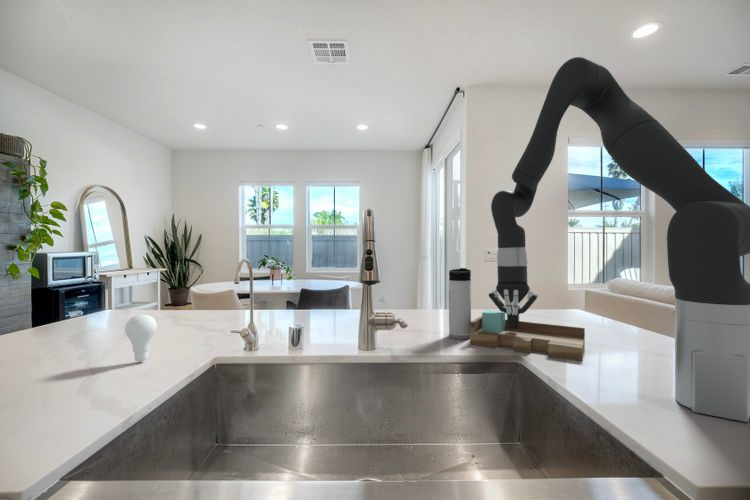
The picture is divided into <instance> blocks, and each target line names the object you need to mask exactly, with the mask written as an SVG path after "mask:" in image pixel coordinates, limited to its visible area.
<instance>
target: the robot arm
mask: <svg viewBox="0 0 750 500" xmlns="http://www.w3.org/2000/svg"><path fill="white" fill-rule="evenodd" d="M570 106H572V107H575V108H578V109H579V110H581V111H583V112H584V113H585V114H586V115H588V116H589V118H590V119H591V120H593V121H594V122H595V123H596V124H597V126H598V128H599V130H600V136H601V141H602V143H603V147H604V149H605V150H606V153H608V155H609V156H610V157H611V158H612V160H613V161H614V162H615V163H616V164H617V166H618V167H619V168H620V169H621V170H622V172H624V173H625V174H626V175H627V176H629V177H630V178H631V179H633V181H635V182H637V183H638V184H640V185H641V186H643V187H644V188H646V189H648V190H649V191H651V192H653V193H654V194H655V195H657V196H659V197H660V198H662V199H663V200H664V201H665V202H666V203H667V204H669V205H670V206H671V208H672V209H673V210H674V211H675V213H674V214H673V215H672V216H671V219H670V220H669V223H668V227H667V234H666V249H667V268H668V276H669V280H670V283H671V284H672V286H673V289H674V311H675V312H674V398H675V400H676V402H678V403H679V404H681V406H685V407H687V408H688V409H690V410H691V411H692V412H693V413H699V414H703V415H707V416H714V417H718V418H723V419H729V420H735V421H738V422H745V423H749V422H750V420H749V419H750V282H748V281H747V280H746V279H745V278H744V275H743V273H742V269H741V268H742V267H741V257H744V256H746V255H749V254H750V205H748V204H747V203H745V201H743V200H741V198H739V197H738V196H737V195H735V194H733V193H732V192H731V191H730V190H728V189H727V188H726V187H724V186H723V185H722V184H721V183H719V182H718V181H716V180H715V179H714V178H713V177H712V176H711V175H710V174H709V173H708V172H707V171H706V170H705V169H704V168H703V167H702V165H700V163H699V162H698V161H697V160H696V159H695V158H694V157H693V156H692V154H691V153H690V152H688V150H687V149H686V148H684V147H683V145H682V144H681V143H679V141H677V140H676V138H675V137H674V136H673V135H672V134H671V133H670V132H669V131H668V130H667V129H666V128H665V126H663V125H662V124H661V123H660V121H658V120H657V119H656V118H655V117H653V116H652V115H651V114H650V113H649V112H648V111H647V110H645V108H643V107H642V106H641V105H639V104H638V103H637V102H635V101H633V100H632V99H631V98H630V97H629V96H628V95H627V94H626V93H625V91H624V90H623V88H622V87H621V86H620V84H619V83H618V82H617V80H616V79H615V77H614V76H613V74H612V73H611V72H610V71H609V70H608V69H607V68H606V67H605V66H603V65H602V64H599V63H597V62H595V61H593V60H590V59H588V58H586V57H583V56H575V57H572V58H570V59H568V60H566V61H565V62H564V63H563V64H562V65H561V66H560V67H559V69H558V70H557V71H556V73H555V75H554V77H553V79H552V81H551V83H550V86H549V87H548V91H547V94H546V97H545V99H544V101H543V104H542V107H541V110H540V112H539V115H538V118H537V121H536V124H535V126H534V130H533V132H532V135H531V137H530V139H529V141H528V143H527V146H526V148H525V149H524V151H523V153H522V155H521V157H520V159H519V161H518V162H517V165H516V166H515V167H514V170H513V172H512V174H511V180H512V182H514V183H515V187H514V190H500V191H498V192H496V193H495V195H494V196H493V197H492V200H491V204H490V206H491V207H490V209H491V215H492V219H493V222H494V226H495V230H496V232H497V233H496V234H497V256H496V257H497V258H496V259H497V260H496V261H497V263H496V264H497V284H496V287H495V290H493V291H492V292H490V293H488V297H489V298H490V299H491V301H492V302H493V303H494V304H495V306H496V307H497V309H498V311H501V312H505V315H506V320H507V324H508V326H510V328H513V329H516V328H517V327H518V326H519V321H520V314H525V313H526V312H527V311H528V309H530V308H531V306H533V304H534V303H535V302H536V300H537V299H538V298H539V295H538V294H537V293H536V294H535V293H534V292H533V291H532V290H531V287H530V286H529V284H528V255H527V251H526V249H527V246H526V230H525V228H524V227H522V226H521V225H519V224H517V223H518V222H517V219H516V218H521V217H523V216H525V215H526V213H528V211H529V210H531V207H532V206H533V202H534V200H535V197H536V194H537V191H538V185H539V183H540V182H541V181H542V178H543V177H544V176H545V173H546V171H548V168H549V166H550V164H551V163H552V161H553V158H554V155H555V150H556V143H557V136H558V132H559V127H560V125H561V121H562V118H563V117H564V115H565V113H566V111H568V108H569V107H570ZM500 297H501V298H502V299H503V300H504V303H503V302H502V300H501V299H500ZM525 297H526V299H527V301H526V303H524V305H523V306H522V307H521V302H522V301H523V300H524V299H525Z"/></svg>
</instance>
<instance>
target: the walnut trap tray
mask: <svg viewBox="0 0 750 500" xmlns="http://www.w3.org/2000/svg"><path fill="white" fill-rule="evenodd" d="M585 333H586V331H585V327H579V326H569V325H561V324H560V325H559V324H551V323H541V322H532V321H524V320H523V321H522V320H519V326H518V327H517V328H516V329H513V328H510V326H508V324H507V319H505V330H504V331H502V332H501V333H498V332H490V331H483V330H482V315H481V316H478V317H477V318H475V319H473V320H471V322H470V339H469V343H470V344H469V345H473V346H479V347H480V346H481V347H486V348H487V347H488V348H493V349H498V348H499V347H500V346H505V347H511V348H512V350H513V352H521V353H525V354H531V353H532V352H533V351H537V352H545V353H547V356H548V357H552V358H553V357H554V358H561V359H566V360H570V361H571V360H572V361H577V362H579V361H580V362H583V358H584V353H585V351H586V350H585V349H586V348H585V347H586V346H585V343H586V342H585V341H586V338H585V335H586V334H585Z"/></svg>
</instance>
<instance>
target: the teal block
mask: <svg viewBox="0 0 750 500" xmlns="http://www.w3.org/2000/svg"><path fill="white" fill-rule="evenodd" d="M481 314H482V315H481V316H482V330H483V331H490V332H498V333H501V332H502V331H504V330H505V320H506V313H505V312H501V311H500V310H492V309H491V310H490V309H486V310H484V311H483V312H481Z"/></svg>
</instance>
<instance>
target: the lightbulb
mask: <svg viewBox="0 0 750 500" xmlns="http://www.w3.org/2000/svg"><path fill="white" fill-rule="evenodd" d="M157 329H158V324H157V320H156V319H155V318H154V317H153V316H151V315H150V314H149V315H148V314H143V313H141V314H137V315H134V316H132V317H131V318H129V319H128V321H126V323H125V326H124V332H125V335H126V337H127V338H128V339H129V341H130V343H131V345H132V352H133V353H134V361H135V362H138V363H139V362H141V363H144V362H145V361H146V360H148V358H149V350H150V346H151V341H152V339H153V337H154V336H155V334H156V332H157ZM143 361H144V362H143Z"/></svg>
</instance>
